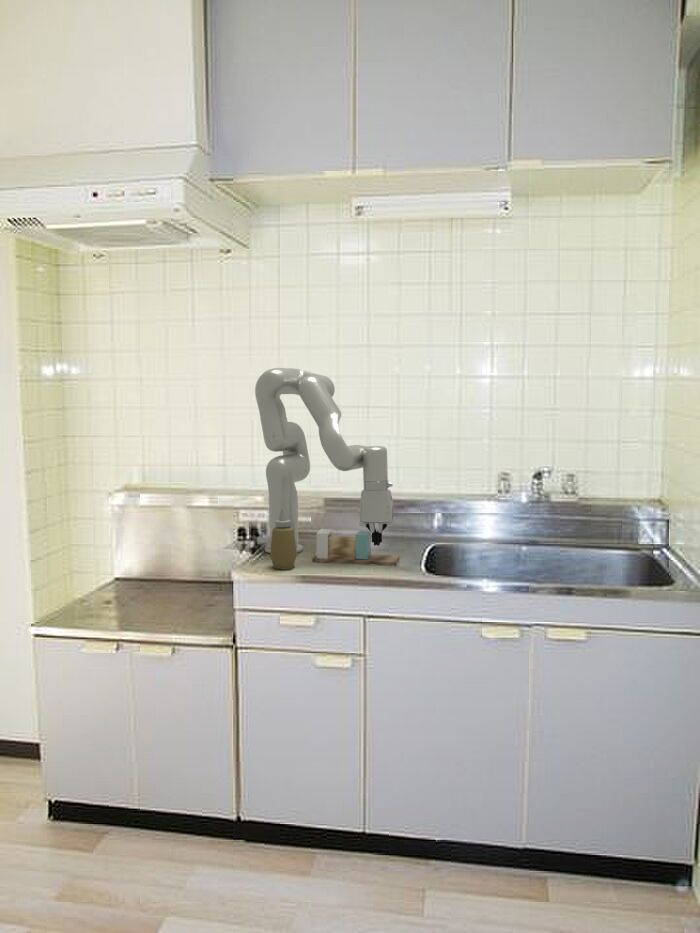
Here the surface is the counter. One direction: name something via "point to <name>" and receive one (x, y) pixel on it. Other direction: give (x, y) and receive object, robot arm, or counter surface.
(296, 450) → the robot arm
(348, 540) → the light wooden block
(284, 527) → the squeeze bottle
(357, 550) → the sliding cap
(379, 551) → the counter surface
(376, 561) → the walnut board
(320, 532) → the grey upright block
